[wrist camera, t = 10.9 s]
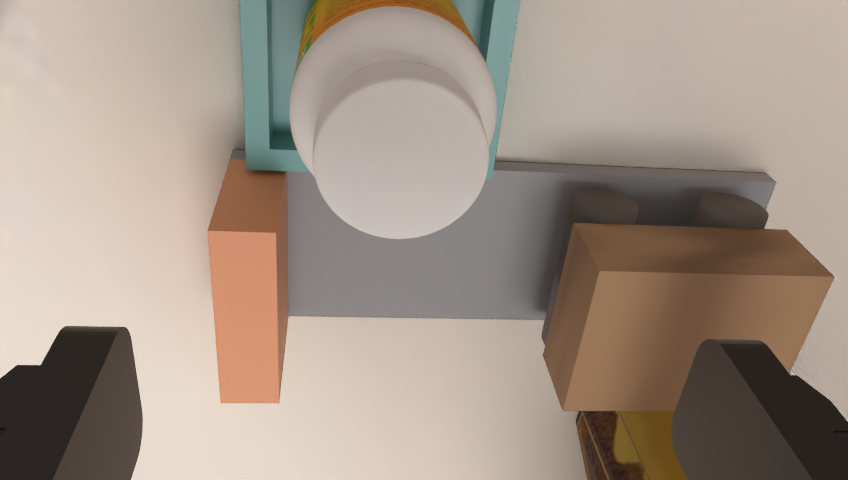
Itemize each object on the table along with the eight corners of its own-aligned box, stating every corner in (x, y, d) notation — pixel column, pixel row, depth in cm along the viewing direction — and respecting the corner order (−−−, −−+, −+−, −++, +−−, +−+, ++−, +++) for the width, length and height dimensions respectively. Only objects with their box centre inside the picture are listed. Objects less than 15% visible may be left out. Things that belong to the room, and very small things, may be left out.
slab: (756, 193, 28) (836, 271, 23) (707, 323, 31) (769, 414, 27) (557, 185, 27) (601, 265, 22) (529, 321, 30) (561, 414, 26)
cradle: (518, -90, 23) (532, -80, 21) (482, 155, 27) (491, 179, 26) (243, -114, 22) (235, -107, 20) (252, 145, 26) (246, 169, 25)
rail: (766, 173, 29) (852, 250, 24) (714, 311, 33) (779, 402, 28) (233, 149, 26) (207, 230, 21) (241, 303, 30) (220, 403, 25)
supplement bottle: (286, -31, 23) (252, 63, 14) (455, -54, 23) (515, 27, 15) (318, 126, 26) (305, 281, 17) (468, 106, 26) (525, 249, 17)
